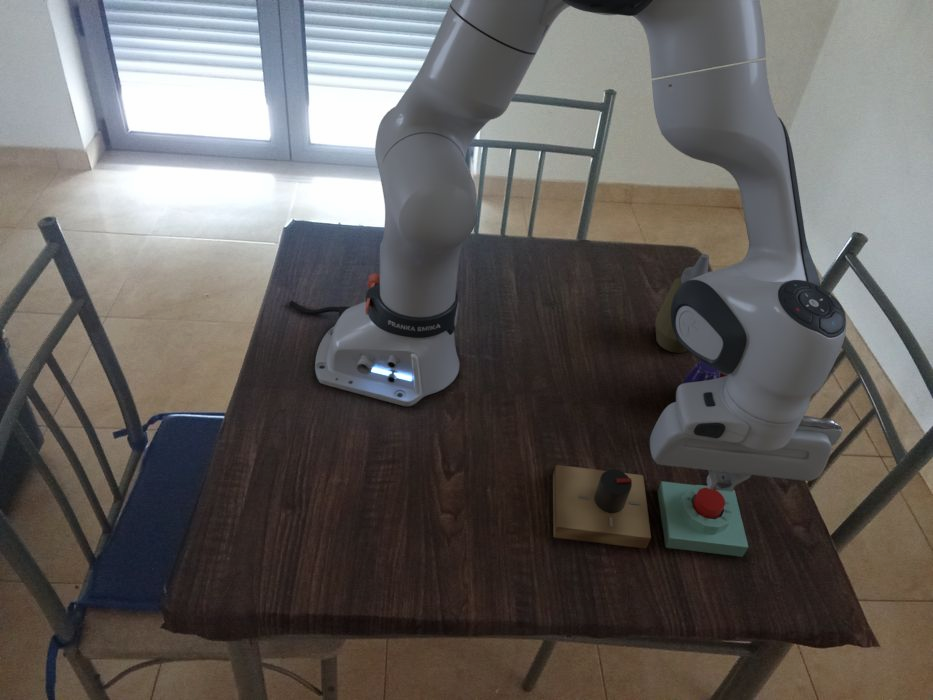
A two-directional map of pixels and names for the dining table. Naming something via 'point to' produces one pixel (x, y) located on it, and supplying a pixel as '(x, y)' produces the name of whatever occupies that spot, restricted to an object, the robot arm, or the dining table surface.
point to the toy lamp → (701, 373)
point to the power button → (708, 503)
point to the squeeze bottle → (663, 319)
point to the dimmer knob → (612, 491)
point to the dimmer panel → (597, 510)
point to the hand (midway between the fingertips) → (718, 486)
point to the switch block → (700, 522)
